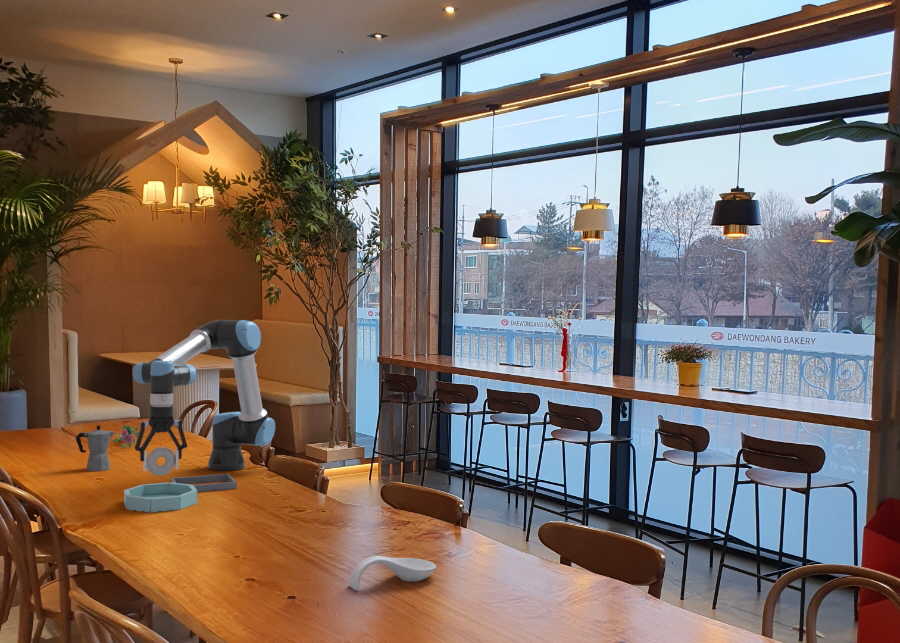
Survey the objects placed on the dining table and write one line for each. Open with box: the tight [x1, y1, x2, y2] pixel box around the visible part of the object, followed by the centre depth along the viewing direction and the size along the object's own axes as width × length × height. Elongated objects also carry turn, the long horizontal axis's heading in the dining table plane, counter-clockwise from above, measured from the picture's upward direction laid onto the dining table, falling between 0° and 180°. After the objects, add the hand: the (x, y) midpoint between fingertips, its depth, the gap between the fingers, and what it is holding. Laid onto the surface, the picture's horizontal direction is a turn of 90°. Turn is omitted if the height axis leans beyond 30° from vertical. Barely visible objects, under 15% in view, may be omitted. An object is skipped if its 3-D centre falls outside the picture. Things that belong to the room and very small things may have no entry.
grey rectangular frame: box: [170, 473, 238, 493], centre depth 314 cm, size 22×16×2 cm
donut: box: [146, 446, 175, 477], centre depth 288 cm, size 10×4×10 cm, turn 130°
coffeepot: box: [75, 425, 116, 472], centre depth 340 cm, size 15×9×18 cm, turn 129°
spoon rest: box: [348, 555, 437, 592], centre depth 214 cm, size 24×12×7 cm, turn 124°
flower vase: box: [112, 424, 139, 450], centre depth 394 cm, size 12×12×35 cm
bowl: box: [123, 481, 198, 513], centre depth 288 cm, size 23×23×4 cm
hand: (160, 469), depth 288 cm, fingers closed on donut, 10 cm apart
